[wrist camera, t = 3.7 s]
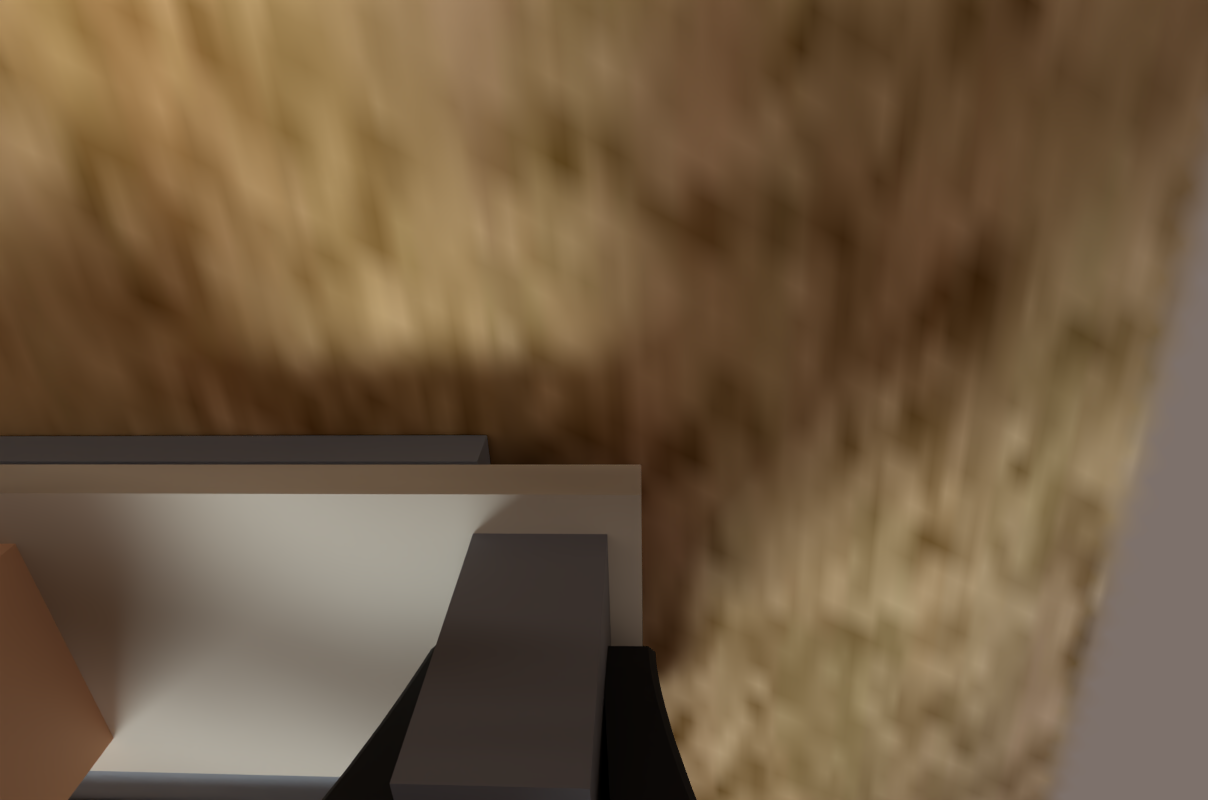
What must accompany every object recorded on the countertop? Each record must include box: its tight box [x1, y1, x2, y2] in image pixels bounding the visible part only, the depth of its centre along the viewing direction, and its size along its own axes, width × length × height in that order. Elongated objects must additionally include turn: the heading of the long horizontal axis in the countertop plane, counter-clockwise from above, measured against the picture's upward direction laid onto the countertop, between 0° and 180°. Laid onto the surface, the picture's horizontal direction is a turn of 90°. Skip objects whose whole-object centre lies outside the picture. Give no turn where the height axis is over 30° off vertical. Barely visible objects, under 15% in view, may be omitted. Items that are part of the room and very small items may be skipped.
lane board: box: [0, 435, 491, 800], centre depth 15 cm, size 15×17×1 cm
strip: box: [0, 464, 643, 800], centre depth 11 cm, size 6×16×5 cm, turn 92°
